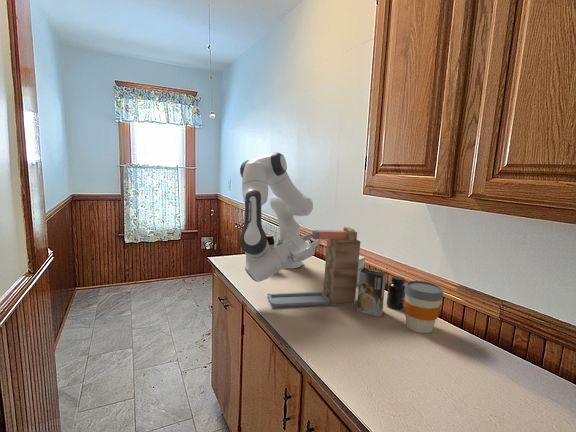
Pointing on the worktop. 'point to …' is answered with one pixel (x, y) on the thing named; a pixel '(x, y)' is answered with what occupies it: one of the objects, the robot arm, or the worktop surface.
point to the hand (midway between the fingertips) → (315, 237)
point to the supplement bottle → (396, 293)
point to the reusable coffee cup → (422, 305)
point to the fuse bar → (331, 234)
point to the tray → (298, 299)
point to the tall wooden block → (341, 269)
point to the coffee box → (371, 291)
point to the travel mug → (270, 240)
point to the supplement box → (360, 266)
